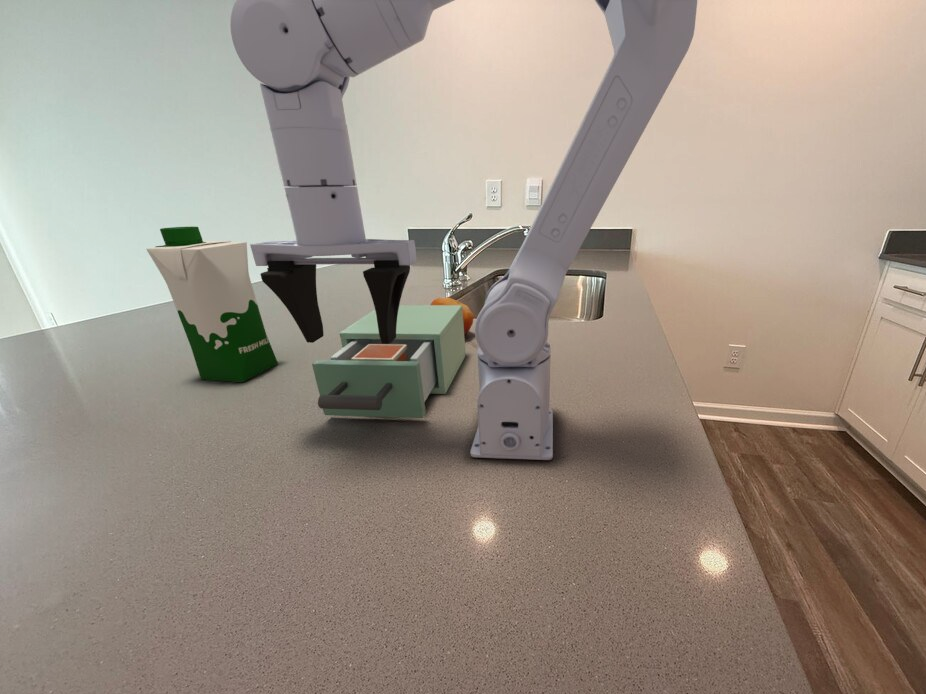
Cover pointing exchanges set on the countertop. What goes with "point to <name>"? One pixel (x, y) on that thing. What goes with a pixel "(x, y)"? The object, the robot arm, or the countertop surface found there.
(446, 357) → the green cabinet
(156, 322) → the countertop surface
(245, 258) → the milk carton
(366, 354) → the plastic tub
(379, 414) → the drawer
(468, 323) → the fruit
